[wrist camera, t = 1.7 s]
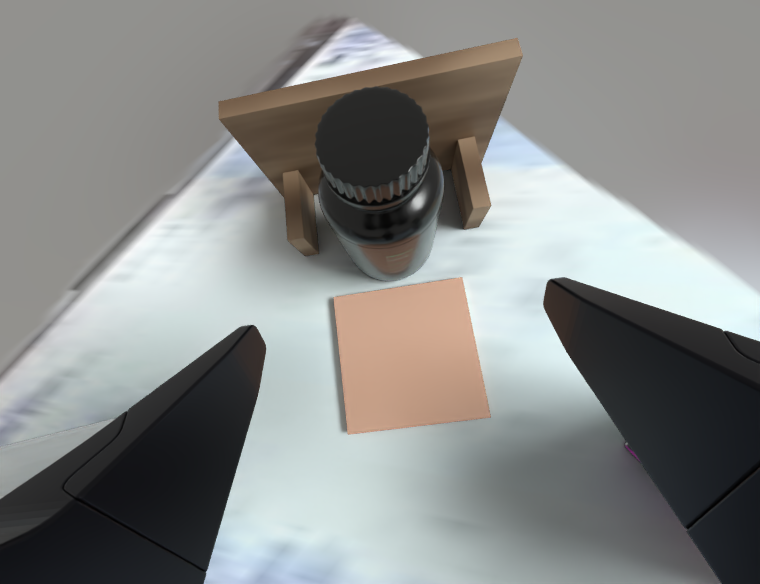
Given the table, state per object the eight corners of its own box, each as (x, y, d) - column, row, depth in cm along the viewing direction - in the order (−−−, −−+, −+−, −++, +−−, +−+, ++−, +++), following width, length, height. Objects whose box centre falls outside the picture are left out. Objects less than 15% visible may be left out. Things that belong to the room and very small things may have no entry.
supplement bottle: (337, 223, 24) (269, 105, 12) (411, 191, 24) (413, 40, 12) (367, 296, 23) (322, 239, 11) (446, 261, 22) (487, 167, 11)
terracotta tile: (488, 415, 20) (490, 417, 19) (349, 432, 21) (347, 434, 20) (460, 279, 22) (462, 277, 21) (335, 298, 23) (333, 297, 22)
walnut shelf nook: (495, 224, 23) (550, 145, 14) (290, 258, 24) (220, 206, 15) (478, 151, 24) (517, 38, 15) (284, 187, 25) (218, 101, 16)
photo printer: (126, 561, 21) (-275, 863, 9) (84, 529, 21) (-341, 764, 9) (199, 425, 22) (-58, 519, 10) (156, 399, 23) (-131, 457, 11)
